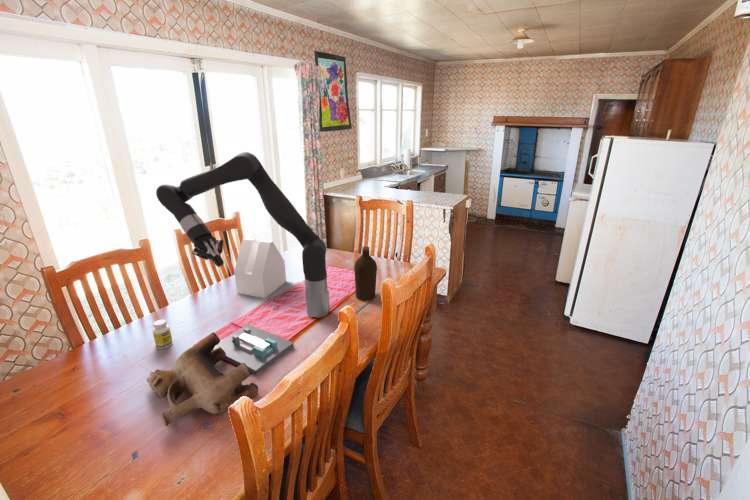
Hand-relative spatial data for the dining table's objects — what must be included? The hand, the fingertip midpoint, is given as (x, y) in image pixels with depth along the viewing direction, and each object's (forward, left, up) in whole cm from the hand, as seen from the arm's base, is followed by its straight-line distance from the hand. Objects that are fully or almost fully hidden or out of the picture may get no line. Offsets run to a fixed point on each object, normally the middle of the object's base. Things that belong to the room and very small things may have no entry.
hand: (221, 265), depth 134 cm
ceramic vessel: (+29, +22, -28) cm, 46 cm away
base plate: (+5, +18, -28) cm, 33 cm away
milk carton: (-33, -17, -28) cm, 47 cm away
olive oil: (-52, +32, -28) cm, 67 cm away
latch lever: (+5, +13, -24) cm, 28 cm away
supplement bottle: (+20, -12, -28) cm, 37 cm away
